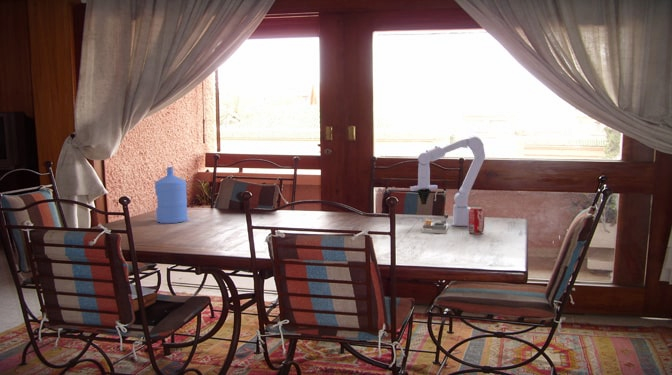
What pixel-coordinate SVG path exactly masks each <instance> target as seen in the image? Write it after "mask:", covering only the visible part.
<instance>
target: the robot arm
mask: <svg viewBox="0 0 672 375" xmlns="http://www.w3.org/2000/svg"><path fill="white" fill-rule="evenodd" d="M484 147H485V146H484V143H483V141H482V139H481V138H480V137H478V136H476V135H471V136H469V137H465V138H461V139H458V140H456V141H454V142H452V143H449V144H448V145H445V146H441V145H435V146H434V148H431V149H429V150H428V149H426V150H425V152H421V153H419V155H418V157H417V161H418V164H417V165H418V168H417V170H418V171H417V185H413V186H409V191H412V192H413V191H416V192H417V193H418V194H417V195H418V196H419V199H420V203H421V205H425V206H426V204H427V201H428V198H429V196H430V194H431V190H438V185H437V184H431V182H430V180H431V178H430V177H431V168H430V162H435V161H437V160H439V159H441V158H444V157H445V156H446V154H447V153H450V152H452V151H455V150H457V149H458V150H459V149H461V148H465V149H467V148H469V149H470V150H471V153H472V154H473V156H474V157H473V160H472V162H471V164H470V166H469V169H468V171H467V173H466V175H465V178H464V180H463V181H462V185H461V186H460V188H459V190H458V191H457V192H456V193H455V194H454V197H453V201H454V203H455V204H453V208H452V209H453V211H452V213H453V214H452V218H453V220H452V222H451V223H452V224H451V226H454V227H455V226H459V227H463V226H464V227H468V223H469V210H470V207H471V206H469V205H468V203H469V196H470V192H471V190H472V188H473V185H474V184H475V181H476V179H477V177H478V174H479V172H480V170H481V168H482V166H483V163H484V160H485V159H486V152H485V148H484Z"/></svg>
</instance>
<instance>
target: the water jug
mask: <svg viewBox="0 0 672 375" xmlns="http://www.w3.org/2000/svg"><path fill="white" fill-rule="evenodd" d="M186 181H187V180H185V179H183V178H180V177H178V176H176V175H174V167H173V166H168V167H166V175H165V176H164V177H162V178H160V179H158V180H156V181H155V183H154V189H155V195H156V198H157V199H156V201H157V207H156V209H155V210H156V211H155V212H156V218H155V219H156V222H157V223H159V222H160V224H166V223H171V224H179V223H178V222H181V223H184V221H185V222H187V221H188V216H189V215H188V198H187V182H186ZM186 220H187V221H186Z"/></svg>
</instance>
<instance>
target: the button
mask: <svg viewBox="0 0 672 375" xmlns="http://www.w3.org/2000/svg"><path fill="white" fill-rule="evenodd" d="M435 225H437V226H444V223H441V221H440V222H438V221H437V222H435Z"/></svg>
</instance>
